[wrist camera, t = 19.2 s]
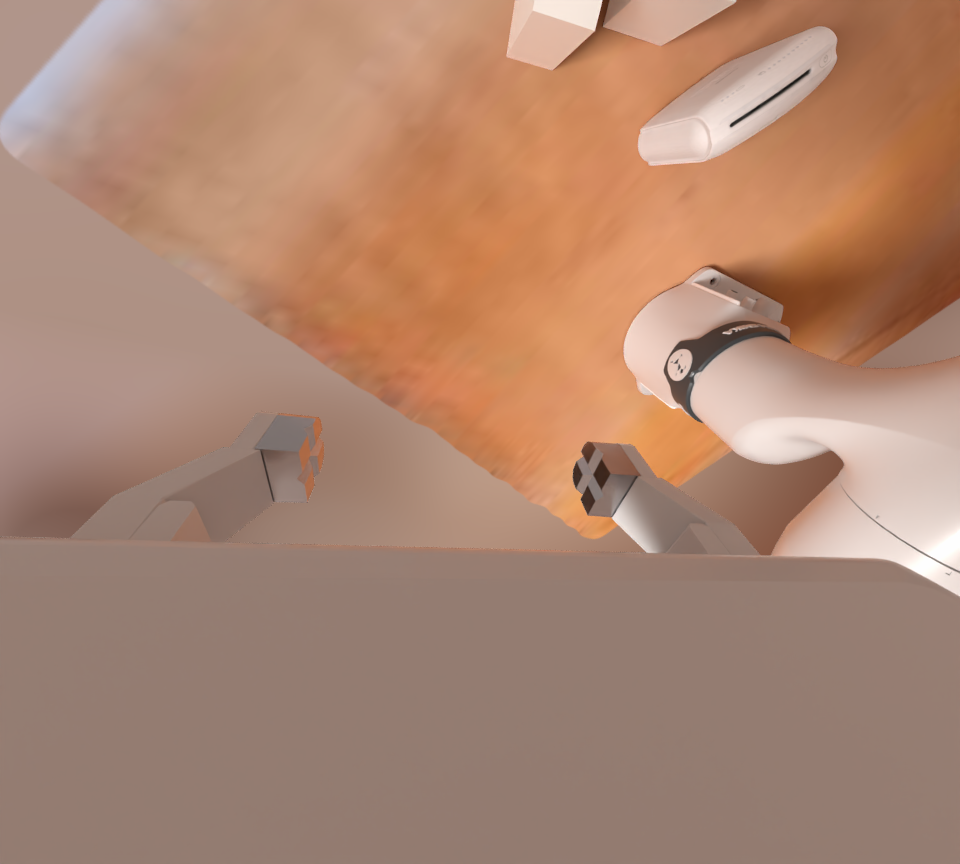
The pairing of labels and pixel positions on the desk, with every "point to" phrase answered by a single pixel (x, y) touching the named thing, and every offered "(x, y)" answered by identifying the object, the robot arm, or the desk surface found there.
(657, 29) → the din mount
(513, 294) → the desk surface
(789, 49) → the photo printer
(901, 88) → the desk surface
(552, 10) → the block
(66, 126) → the desk surface
